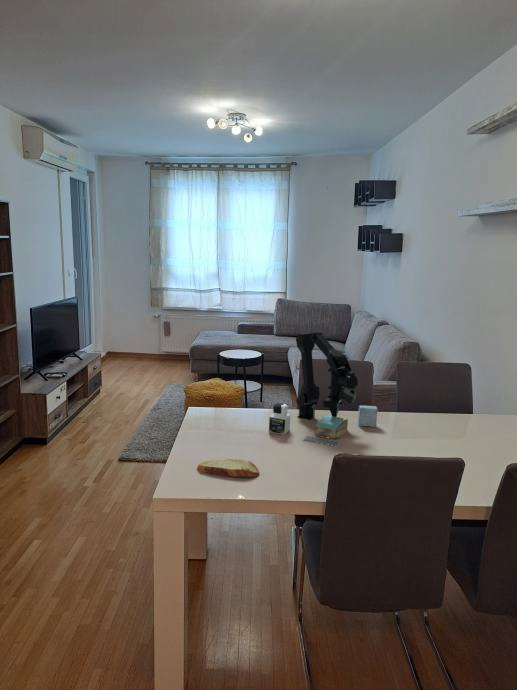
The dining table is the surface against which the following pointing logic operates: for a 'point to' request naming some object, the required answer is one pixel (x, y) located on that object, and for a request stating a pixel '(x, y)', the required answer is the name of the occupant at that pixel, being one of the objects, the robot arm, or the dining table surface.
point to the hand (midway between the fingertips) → (334, 418)
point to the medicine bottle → (279, 419)
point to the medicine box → (367, 416)
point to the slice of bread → (229, 468)
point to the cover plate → (330, 422)
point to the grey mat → (322, 441)
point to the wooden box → (332, 431)
